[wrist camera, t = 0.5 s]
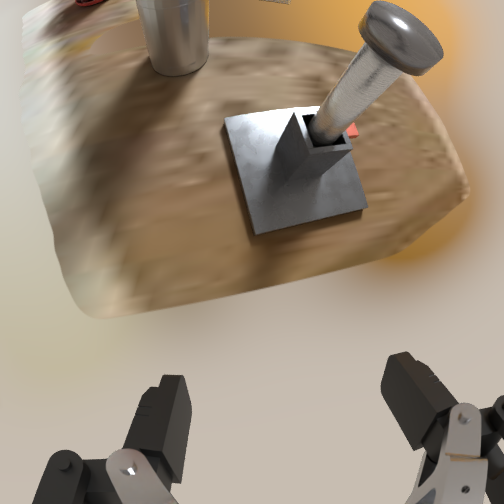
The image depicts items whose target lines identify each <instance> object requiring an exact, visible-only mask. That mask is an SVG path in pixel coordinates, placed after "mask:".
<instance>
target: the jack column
mask: <svg viewBox="0 0 504 504" xmlns="http://www.w3.org/2000/svg"><path fill="white" fill-rule="evenodd" d="M358 28H359V32H360V34H361V36H362V38H363V39H364V41H365V43H364V44H363V46H362V47H361V49H360V50H359V51H358V53H357V54H356V56H355V57H354V58H353V60H352V61H351V63H350V64H349V66H348V67H347V68H346V70H345V71H344V73H343V74H342V76H341V77H340V79H339V80H338V81H337V83H336V84H335V86H334V87H333V89H332V90H331V92H330V93H329V94H328V96H327V97H326V99H325V100H324V102H323V103H322V105H321V106H320V108H319V109H318V111H317V112H316V114H315V115H314V117H313V118H312V120H311V121H310V122H309V124H308V125H307V127H306V129H307V131H308V134H309V137H310V139H311V142H312V145H313V148H317V147H325V146H331V145H332V144H333V143H334V142H335V141H336V140H337V139H338V138H339V137H340V136H341V134H342V133H343V132H344V131H345V130H346V129H347V128H348V127H349V126H350V125H351V124H352V123H353V122H354V121H355V120H356V119H357V118H358V117H359V116H360V115H361V114H362V113H363V112H364V111H365V110H366V109H367V108H368V107H369V106H370V105H371V104H372V103H373V102H374V101H375V100H376V99H377V98H378V97H379V96H380V95H381V94H382V93H383V92H384V91H385V90H386V89H387V88H388V87H389V86H390V85H391V84H392V83H393V82H394V81H395V80H396V79H397V78H398V77H399V76H400V75H401V74H402V73H403V72H404V73H407V74H410V75H414V76H422V75H424V74H425V73H426V72H427V71H428V70H430V69H431V68H432V67H433V66H434V65H435V64H436V63H437V62H439V61H440V60H441V59H442V58H443V49H442V47H441V45H440V43H439V41H438V40H437V38H436V37H435V36H434V34H433V33H432V32H431V31H430V30H429V29H428V28H427V26H426V25H424V24H423V23H422V22H421V21H420V20H419V19H418V18H416V17H415V16H414V15H412V14H411V13H409V12H408V11H406V10H404V9H403V8H400V7H399V6H397V5H394V4H392V3H388V2H385V1H374V2H373V3H372V4H371V6H370V7H369V9H368V10H367V12H366V13H365V15H364V16H363V18H362V19H361V21H360V23H359V26H358Z"/></svg>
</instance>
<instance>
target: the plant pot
mask: <svg viewBox="0 0 504 504" xmlns="http://www.w3.org/2000/svg"><path fill="white" fill-rule="evenodd" d="M101 1H103V0H76V1H75V3H76V4H77V5H79V6H89V5H93V4H96V3H99V2H101Z"/></svg>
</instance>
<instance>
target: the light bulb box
mask: <svg viewBox="0 0 504 504" xmlns="http://www.w3.org/2000/svg"><path fill="white" fill-rule="evenodd" d="M261 1H270V2H277V3H283V4H290V2H291V0H261Z"/></svg>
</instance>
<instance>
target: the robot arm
mask: <svg viewBox="0 0 504 504" xmlns="http://www.w3.org/2000/svg"><path fill="white" fill-rule="evenodd" d="M136 4H137V8H138V12H139V16H140V20H141V25H142V29H143V33H144V37H145V40H146V45H147V48H148V53H149V56H150V60H151V64H152V66H153V68H154V70H155V71H156V72H158V73H160V74H163V75H166V76H180V75H185V74H189V73H191V72H194V71H196V70H197V69H199V68H200V67H201V66H202V65H204V63H205V62H206V61H207V58H208V39H209V36H208V35H209V0H136ZM381 393H382V396H383V398H384V400H385V401H386V403H387V405H388V406H389V408H390V410H391V412H392V413H393V415H394V417H395V418H396V420H397V422H398V424H399V426H400V427H401V429H402V431H403V433H404V435H405V436H406V438H407V440H408V442H409V444H410V445H411V447H412V449H413V450H414V451H415V450H417V449H420V448H422V447H424V448H425V450H426V451H425V452H424V454H423V457H422V461H421V465H420V468H419V472H418V475H417V479H416V482H415V485H414V488H413V491H412V493H411V495H410V496H409V498H408V499H407V501H406V503H405V504H483V500H484V494H485V492H486V494H487V496H488V498H489V500H490V502H491V504H504V454H503V452H502V451H501V449H500V448H499V446H498V444H497V443H498V442H499V441H500V439H501V438H503V439H504V395H503V396H500V397H499V398H498V399H497V400H496V402H495V403H494V405H493V406H492V407H489V408H484V409H479V410H478V408H476V407H475V406H474V405H472V404H469V403H460V404H459V403H458V402H457V400H456V399H455V398H454V397H453V396H452V394H451V393H450V392H449V391H448V389H447V388H446V387H445V386H444V385H443V384H442V382H441V381H439V379H438V377H437V376H436V375H434V373H433V372H432V371H431V369H430V368H429V367H428V366H427V365H425V364H424V363H422V362H420V361H418V360H417V361H416V360H415V359H414V358H413V357H412V356H411V355H410V353H409V352H402V353H398V354H394V355H390V356H389V358H388V360H387V364H386V368H385V371H384V375H383V378H382V381H381ZM138 406H139V407H138V408H137V410H136V413H135V416H134V418H133V421H132V424H131V427H130V429H129V432H128V435H127V437H126V440H125V443H124V446H123V448H122V449H120V450H117V451H115V452H114V453H112V454H111V455H110V456H109V458H107V459H92V460H82V459H81V457H80V456H79V455H78V454H76V453H75V452H73V451H70V450H61V451H58V452H56V453H54V454H53V455H52V456H51V457H50V459H49V461H48V464H47V466H46V468H45V471H44V474H43V476H42V478H41V481H40V483H39V486H38V489H37V492H36V494H35V497H34V500H33V503H32V504H178V502H177V501H176V500H175V499H174V497H173V496H172V494H171V493H170V490H171V484H172V483H180V484H181V481H182V474H183V467H184V460H185V454H186V447H187V441H188V434H189V428H190V423H191V416H192V406H191V401H190V397H189V394H188V390H187V386H186V382H185V378H184V376H183V375H163V376H162V379H161V382H160V385H159V387H150V388H149V389H148V390H147V391H146V392H145V393H144V394H143V395H142V397H141V400H140V402H139V405H138Z"/></svg>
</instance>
